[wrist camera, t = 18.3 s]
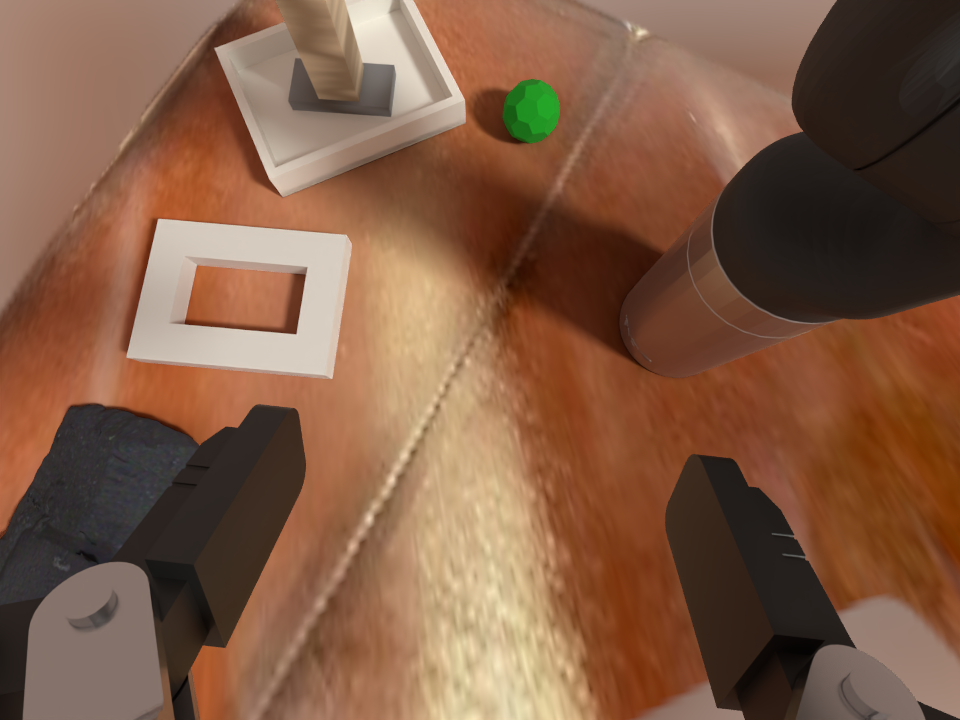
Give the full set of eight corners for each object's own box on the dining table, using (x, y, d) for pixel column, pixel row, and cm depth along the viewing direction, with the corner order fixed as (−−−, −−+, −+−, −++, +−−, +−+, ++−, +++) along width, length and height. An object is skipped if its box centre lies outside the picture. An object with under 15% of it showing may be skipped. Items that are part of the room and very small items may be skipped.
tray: (406, 6, 49) (401, -23, 46) (465, 122, 46) (464, 100, 43) (230, 73, 47) (214, 48, 44) (283, 197, 45) (269, 179, 42)
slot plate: (352, 244, 44) (346, 235, 42) (332, 379, 42) (325, 375, 40) (172, 229, 44) (158, 218, 42) (142, 362, 42) (126, 357, 40)
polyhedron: (562, 117, 47) (572, 79, 42) (543, 161, 46) (551, 126, 41) (513, 98, 47) (517, 58, 42) (493, 141, 46) (494, 105, 41)
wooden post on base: (396, 74, 46) (367, -59, 34) (391, 116, 45) (360, -5, 34) (299, 68, 46) (238, -68, 34) (292, 110, 46) (227, -14, 34)
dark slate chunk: (245, 446, 41) (215, 445, 36) (132, 734, 37) (82, 774, 32) (75, 391, 42) (24, 383, 37) (-55, 667, 38) (-130, 697, 33)
